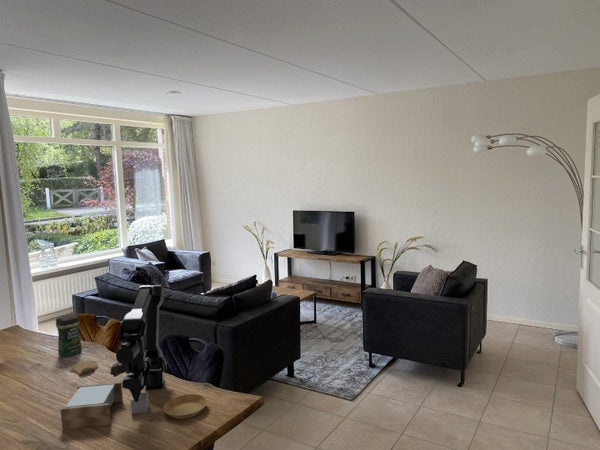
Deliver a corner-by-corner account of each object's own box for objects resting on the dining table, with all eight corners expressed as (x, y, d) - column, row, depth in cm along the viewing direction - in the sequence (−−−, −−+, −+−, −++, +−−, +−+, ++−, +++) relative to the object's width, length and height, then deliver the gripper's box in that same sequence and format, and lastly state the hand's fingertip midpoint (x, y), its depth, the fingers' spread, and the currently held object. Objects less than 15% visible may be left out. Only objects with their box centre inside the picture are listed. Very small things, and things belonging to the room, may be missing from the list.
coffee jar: (64, 359, 212) (60, 319, 210) (56, 355, 216) (52, 316, 214) (85, 351, 220) (81, 313, 217) (76, 348, 224) (72, 311, 222)
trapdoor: (115, 397, 169) (114, 384, 168) (104, 417, 155) (103, 403, 154) (80, 400, 167) (79, 387, 167) (66, 421, 153) (65, 406, 153)
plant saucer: (171, 401, 169) (170, 394, 169) (211, 400, 168) (211, 393, 168) (157, 423, 154) (157, 415, 154) (201, 422, 154) (201, 414, 154)
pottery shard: (69, 375, 199) (76, 376, 191) (68, 364, 199) (75, 365, 192) (95, 368, 206) (103, 369, 198) (94, 358, 206) (102, 359, 199)
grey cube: (149, 405, 166) (148, 392, 166) (146, 412, 161) (145, 398, 161) (134, 406, 166) (133, 393, 165) (131, 414, 161) (130, 400, 160)
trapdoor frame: (122, 399, 171) (121, 381, 170) (110, 424, 154) (108, 404, 153) (79, 404, 169) (78, 385, 168) (62, 429, 152) (60, 409, 151)
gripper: (118, 344, 169) (122, 385, 171) (103, 365, 151) (108, 411, 153) (150, 342, 171) (153, 382, 172) (139, 362, 152) (143, 407, 154)
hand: (139, 395), depth 163 cm, fingers open, 9 cm apart
